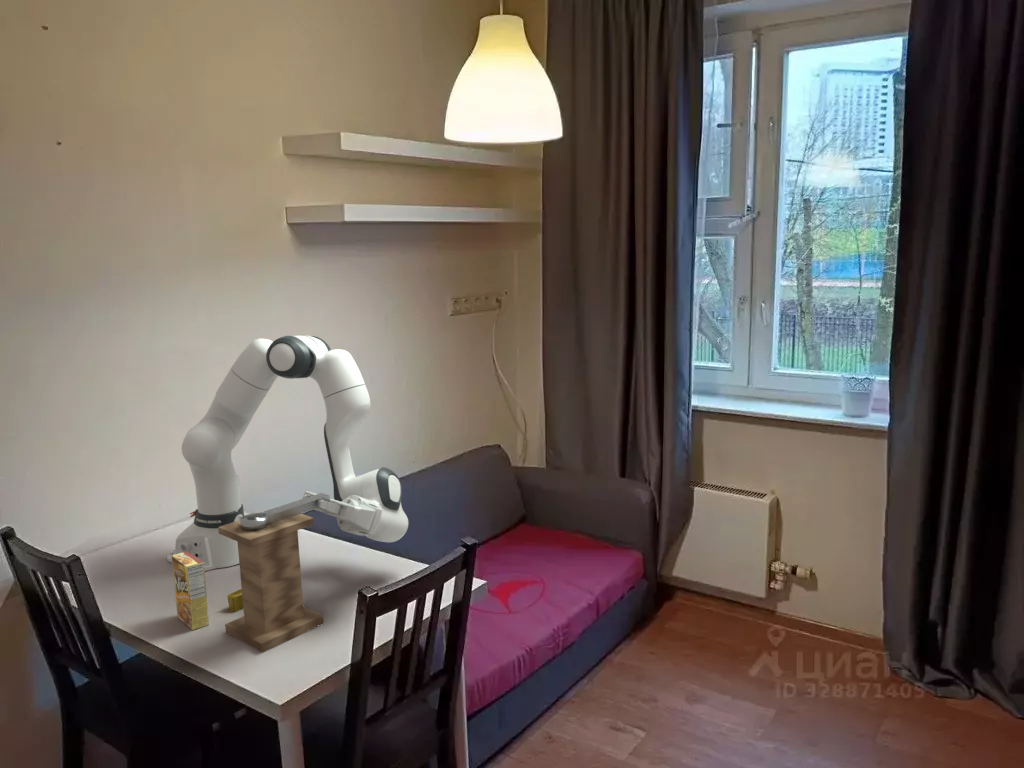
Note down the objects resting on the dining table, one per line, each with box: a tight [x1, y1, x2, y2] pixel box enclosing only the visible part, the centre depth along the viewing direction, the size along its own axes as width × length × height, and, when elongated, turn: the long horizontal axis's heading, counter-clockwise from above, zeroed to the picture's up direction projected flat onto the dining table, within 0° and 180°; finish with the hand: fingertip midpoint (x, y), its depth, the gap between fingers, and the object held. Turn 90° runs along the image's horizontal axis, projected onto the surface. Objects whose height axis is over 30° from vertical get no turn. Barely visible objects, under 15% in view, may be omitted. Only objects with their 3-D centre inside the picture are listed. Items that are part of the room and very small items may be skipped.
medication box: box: [227, 588, 244, 613], centre depth 200 cm, size 12×3×4 cm, turn 145°
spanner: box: [240, 492, 331, 531], centre depth 186 cm, size 22×6×2 cm, turn 140°
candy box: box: [171, 551, 210, 631], centre depth 189 cm, size 9×4×15 cm, turn 43°
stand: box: [218, 513, 325, 653], centre depth 184 cm, size 16×14×25 cm
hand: (312, 500), depth 191 cm, fingers open, 4 cm apart
